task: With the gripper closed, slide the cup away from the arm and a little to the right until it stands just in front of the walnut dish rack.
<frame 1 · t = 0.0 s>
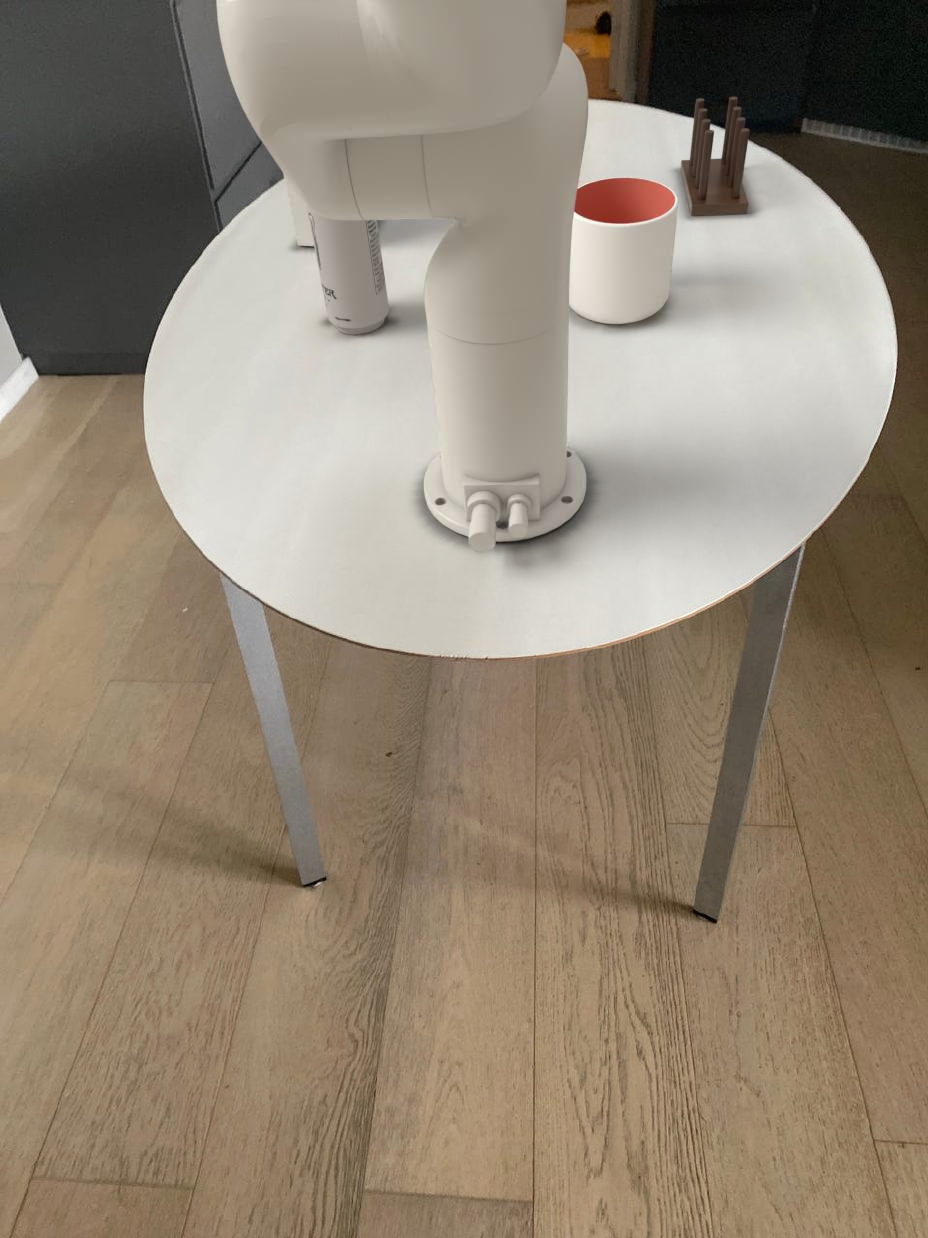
cup: (615, 304, 92), on the table
energy drink can: (360, 322, 93), on the table
milk carton: (338, 235, 107), on the table
dish rack: (712, 191, 108), on the table
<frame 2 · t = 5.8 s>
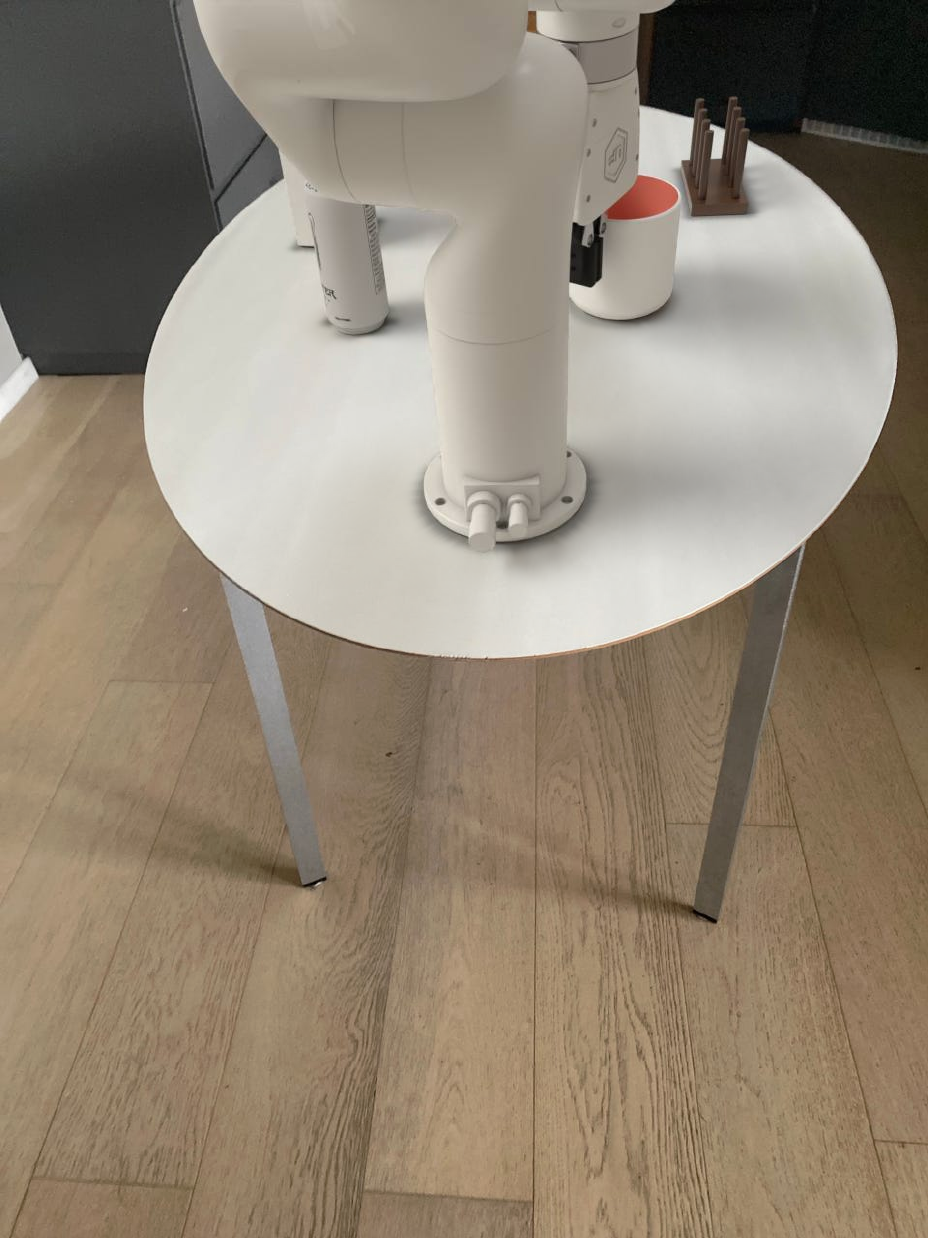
hand: (581, 279, 85), 5 cm above the table, tool pointing down, fingers closed
cup: (619, 300, 93), on the table, touching gripper
everything else where it was.
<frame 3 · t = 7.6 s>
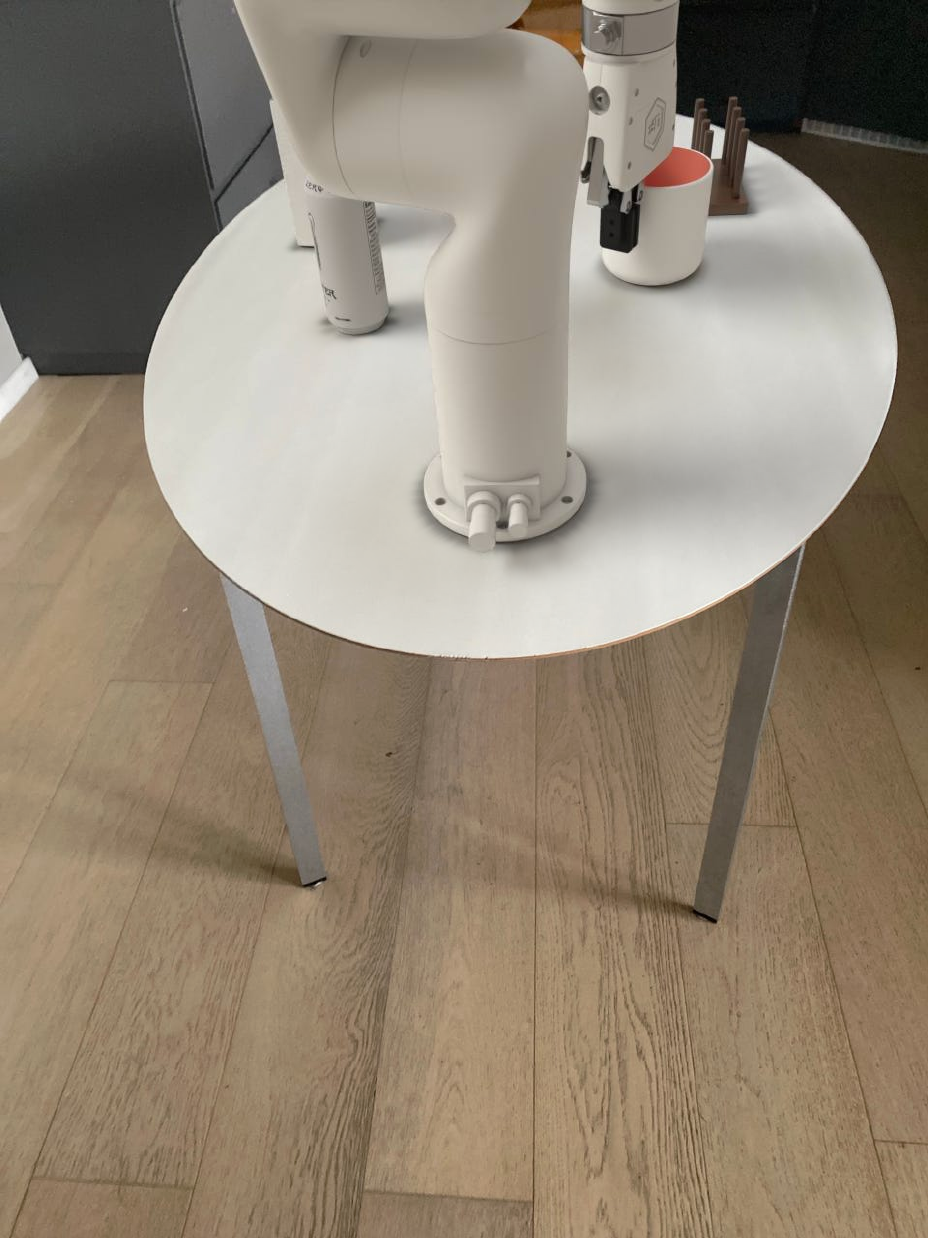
hand: (618, 246, 89), 5 cm above the table, tool pointing down, fingers closed
cup: (650, 268, 97), on the table, touching gripper
everything else where it was.
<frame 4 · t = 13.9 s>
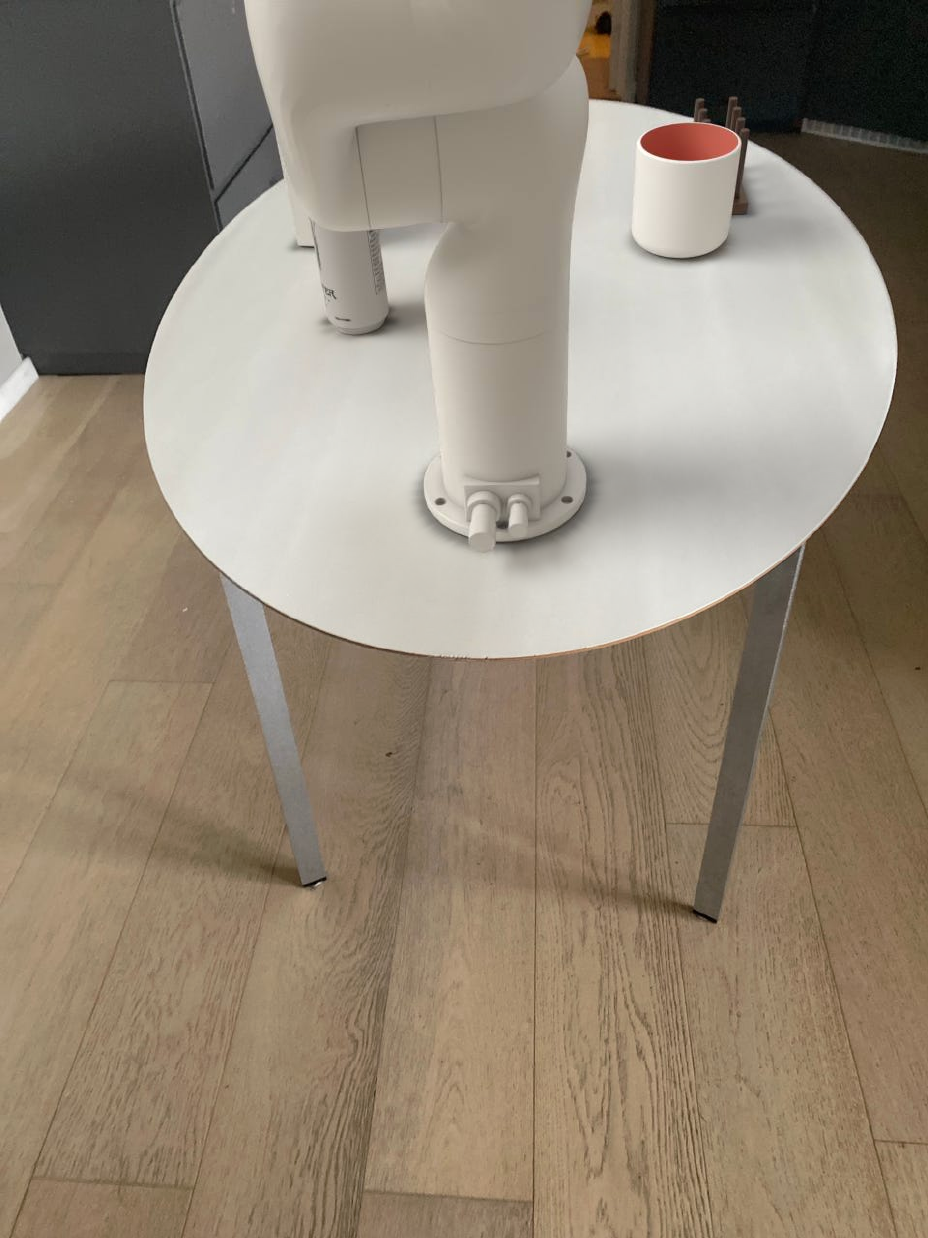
cup: (678, 242, 100), on the table
everything else where it was.
at the end: cup inside the target area on the table beside the dish rack (2.7 cm from its centre), on the table; cup tilted 0°; cup moved 14.3 cm from its start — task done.
